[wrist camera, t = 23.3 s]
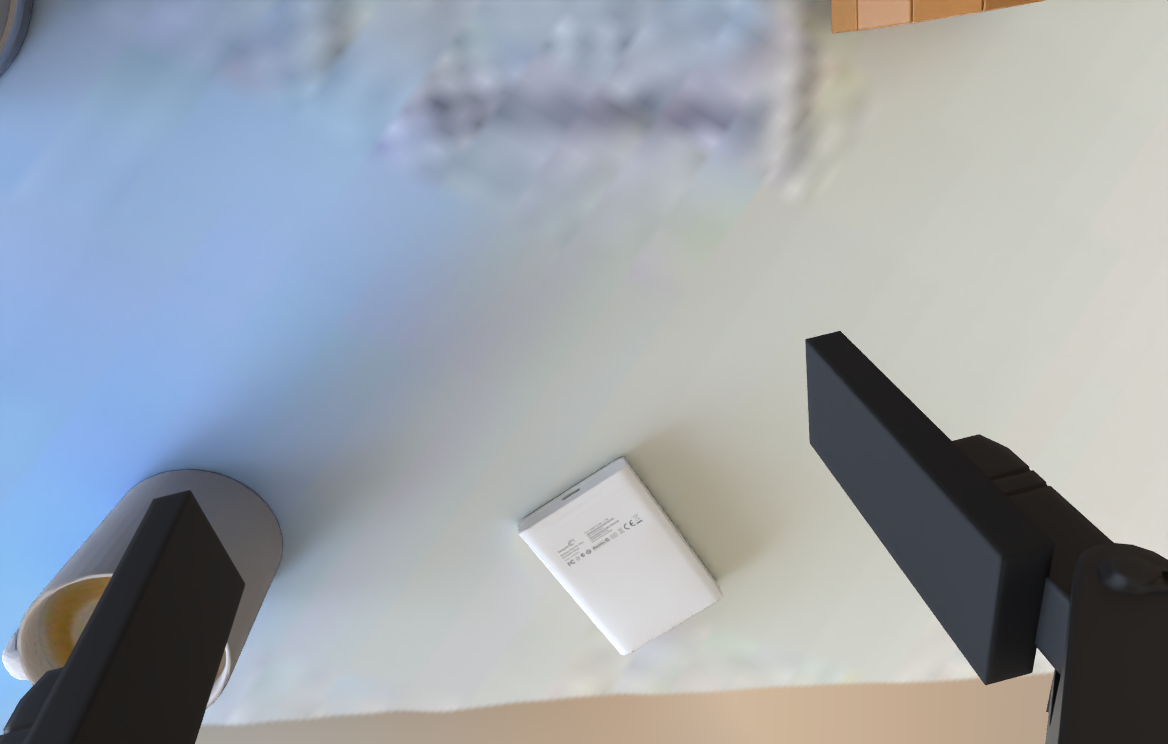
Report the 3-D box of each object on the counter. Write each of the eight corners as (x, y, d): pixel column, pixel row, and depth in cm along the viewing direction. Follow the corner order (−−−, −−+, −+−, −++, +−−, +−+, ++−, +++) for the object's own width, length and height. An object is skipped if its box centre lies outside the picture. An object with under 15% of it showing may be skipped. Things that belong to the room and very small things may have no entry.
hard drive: (618, 641, 54) (516, 521, 49) (717, 582, 53) (623, 454, 48) (622, 658, 52) (517, 536, 47) (724, 597, 51) (627, 466, 46)
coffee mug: (258, 457, 45) (197, 557, 36) (300, 592, 49) (255, 713, 40) (27, 492, 45) (-96, 603, 35) (88, 626, 48) (-8, 758, 39)
